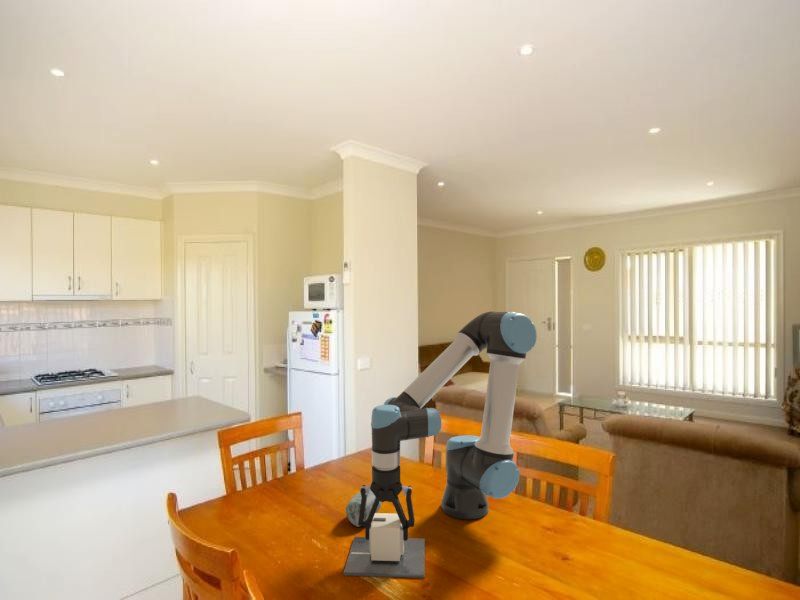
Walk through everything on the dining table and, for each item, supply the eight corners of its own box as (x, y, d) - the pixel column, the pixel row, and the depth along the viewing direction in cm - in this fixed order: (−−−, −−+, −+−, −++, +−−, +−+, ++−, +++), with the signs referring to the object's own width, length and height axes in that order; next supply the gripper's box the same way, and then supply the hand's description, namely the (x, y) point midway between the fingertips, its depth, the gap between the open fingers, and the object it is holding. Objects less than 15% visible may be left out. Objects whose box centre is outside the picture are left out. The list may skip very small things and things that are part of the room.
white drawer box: (401, 544, 119) (401, 512, 119) (399, 561, 111) (399, 526, 111) (374, 544, 119) (374, 511, 119) (371, 560, 112) (370, 525, 112)
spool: (367, 523, 126) (358, 488, 130) (342, 532, 130) (335, 497, 134) (392, 515, 137) (383, 482, 141) (369, 523, 141) (361, 491, 145)
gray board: (424, 541, 122) (424, 522, 122) (424, 577, 106) (424, 556, 106) (354, 539, 124) (354, 521, 124) (343, 575, 108) (343, 554, 108)
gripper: (424, 460, 118) (425, 544, 118) (350, 459, 119) (351, 542, 119) (424, 471, 111) (425, 561, 111) (345, 470, 112) (346, 558, 112)
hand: (386, 551), depth 115 cm, fingers closed on white drawer box, 7 cm apart
